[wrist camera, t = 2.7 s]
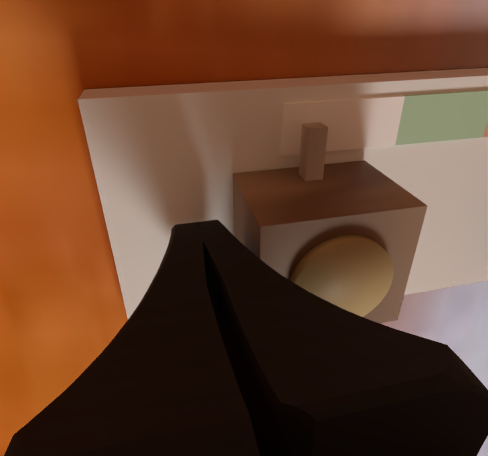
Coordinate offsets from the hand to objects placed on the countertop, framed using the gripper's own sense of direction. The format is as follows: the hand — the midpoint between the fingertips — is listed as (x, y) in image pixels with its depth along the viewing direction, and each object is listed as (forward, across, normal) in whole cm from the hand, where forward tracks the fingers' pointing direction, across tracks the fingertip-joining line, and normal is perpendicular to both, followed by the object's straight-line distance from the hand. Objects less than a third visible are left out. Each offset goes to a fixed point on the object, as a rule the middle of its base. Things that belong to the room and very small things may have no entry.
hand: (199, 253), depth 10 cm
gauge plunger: (+1, -3, -1) cm, 3 cm away
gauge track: (+2, -5, 0) cm, 6 cm away
